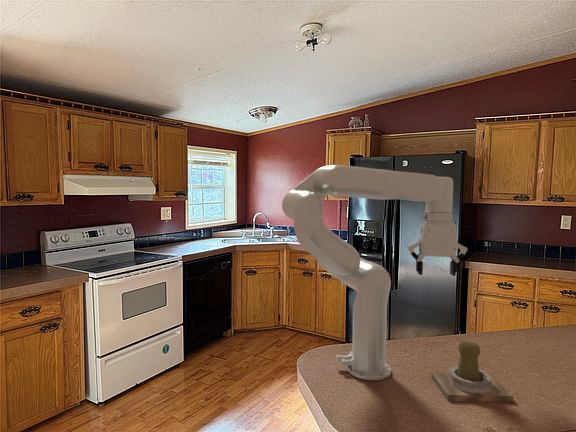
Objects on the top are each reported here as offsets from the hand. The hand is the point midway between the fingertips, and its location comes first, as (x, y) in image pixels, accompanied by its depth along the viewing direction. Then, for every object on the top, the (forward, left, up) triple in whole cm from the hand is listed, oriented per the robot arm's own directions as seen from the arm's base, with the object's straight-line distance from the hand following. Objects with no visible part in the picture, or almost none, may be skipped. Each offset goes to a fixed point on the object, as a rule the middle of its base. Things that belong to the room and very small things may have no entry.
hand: (436, 274), depth 118 cm
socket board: (+4, -17, -27) cm, 32 cm away
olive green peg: (+3, -16, -26) cm, 31 cm away
